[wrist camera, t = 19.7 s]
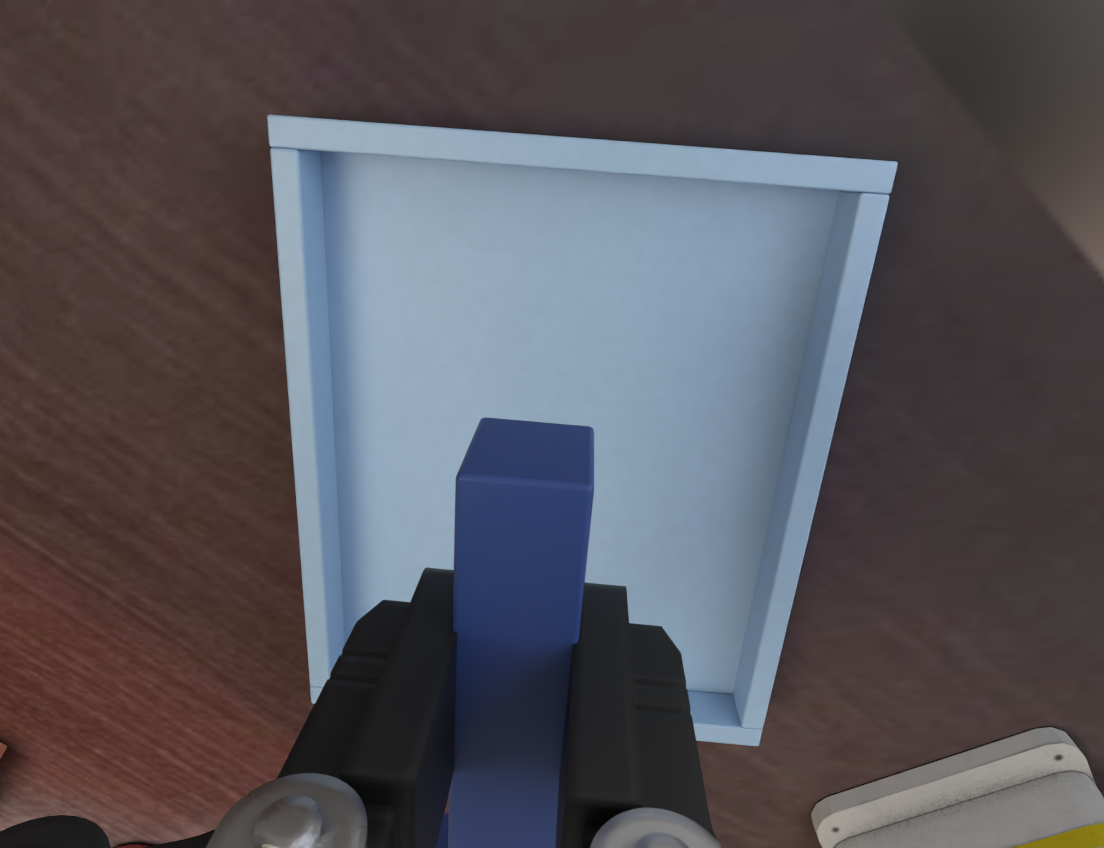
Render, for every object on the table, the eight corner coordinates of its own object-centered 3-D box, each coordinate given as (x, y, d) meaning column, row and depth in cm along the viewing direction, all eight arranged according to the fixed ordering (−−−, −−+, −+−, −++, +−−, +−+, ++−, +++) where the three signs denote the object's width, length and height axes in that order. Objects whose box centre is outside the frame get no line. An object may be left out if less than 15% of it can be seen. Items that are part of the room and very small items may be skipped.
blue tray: (300, 118, 18) (265, 114, 16) (866, 160, 17) (899, 162, 16) (332, 662, 24) (310, 704, 22) (746, 701, 24) (759, 747, 22)
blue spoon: (408, 408, 9) (365, 466, 7) (667, 430, 9) (684, 494, 7) (411, 924, 13) (384, 1040, 11) (594, 943, 13) (594, 1062, 11)
